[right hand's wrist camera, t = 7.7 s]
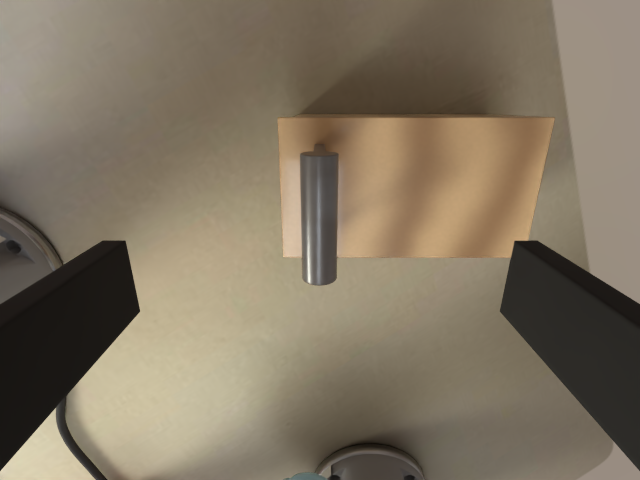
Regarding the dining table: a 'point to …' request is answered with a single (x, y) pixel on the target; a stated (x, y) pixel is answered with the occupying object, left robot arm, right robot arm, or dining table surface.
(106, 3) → the dining table surface
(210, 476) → the dining table surface
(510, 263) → the right robot arm
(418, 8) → the dining table surface
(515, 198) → the lid
